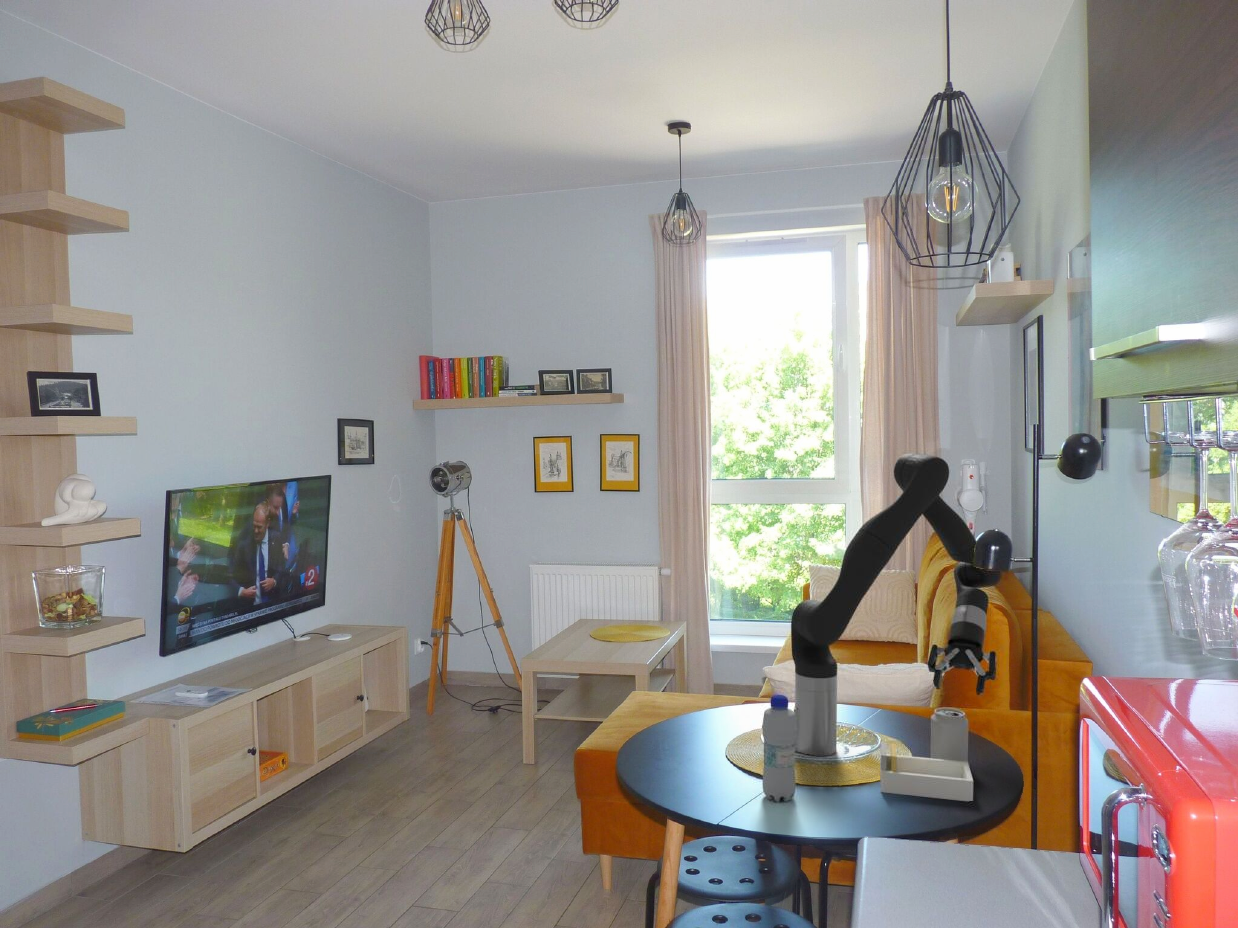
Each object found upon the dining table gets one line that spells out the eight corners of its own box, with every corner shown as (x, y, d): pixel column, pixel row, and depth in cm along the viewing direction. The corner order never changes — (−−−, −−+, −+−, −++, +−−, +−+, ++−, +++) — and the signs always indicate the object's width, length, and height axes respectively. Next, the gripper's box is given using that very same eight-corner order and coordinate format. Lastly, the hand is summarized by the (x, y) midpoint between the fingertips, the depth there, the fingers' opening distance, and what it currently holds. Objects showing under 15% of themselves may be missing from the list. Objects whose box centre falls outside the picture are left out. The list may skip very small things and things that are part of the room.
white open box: (880, 791, 178) (881, 756, 178) (880, 772, 189) (880, 739, 188) (972, 801, 173) (973, 765, 173) (967, 781, 184) (967, 746, 184)
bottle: (775, 806, 170) (776, 701, 170) (754, 794, 176) (755, 692, 176) (803, 800, 174) (804, 697, 173) (782, 788, 180) (782, 688, 179)
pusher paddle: (891, 783, 179) (891, 756, 179) (890, 769, 186) (891, 743, 186) (896, 784, 179) (896, 756, 178) (895, 770, 186) (896, 743, 186)
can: (970, 774, 187) (971, 717, 187) (932, 771, 189) (933, 715, 189) (964, 762, 195) (965, 707, 195) (928, 759, 196) (928, 704, 196)
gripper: (933, 616, 210) (921, 676, 200) (999, 623, 203) (990, 685, 193) (938, 635, 215) (926, 694, 205) (1002, 642, 207) (993, 704, 198)
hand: (957, 690), depth 199 cm, fingers open, 8 cm apart
